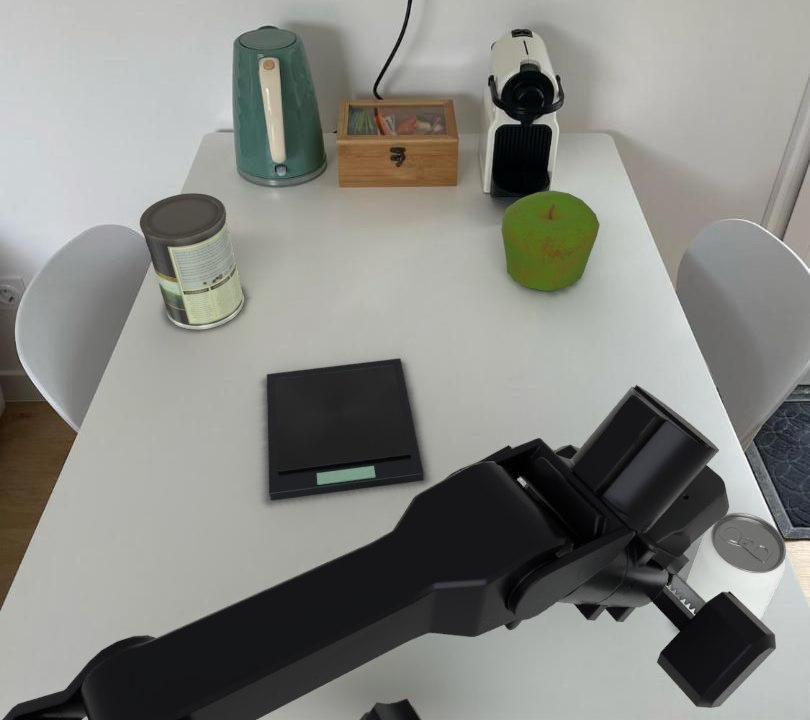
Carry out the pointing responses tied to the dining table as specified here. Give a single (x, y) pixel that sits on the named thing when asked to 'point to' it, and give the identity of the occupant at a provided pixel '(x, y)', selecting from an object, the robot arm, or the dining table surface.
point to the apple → (548, 239)
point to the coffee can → (193, 260)
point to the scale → (340, 429)
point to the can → (739, 561)
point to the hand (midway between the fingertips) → (678, 573)
